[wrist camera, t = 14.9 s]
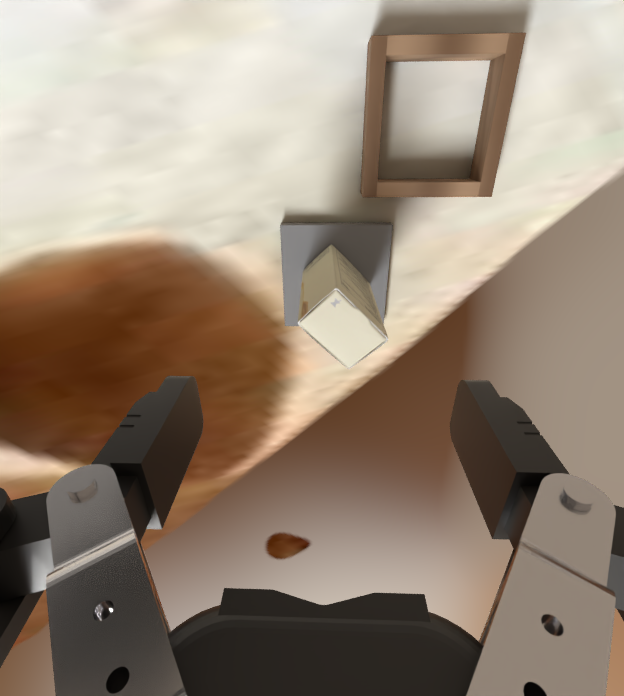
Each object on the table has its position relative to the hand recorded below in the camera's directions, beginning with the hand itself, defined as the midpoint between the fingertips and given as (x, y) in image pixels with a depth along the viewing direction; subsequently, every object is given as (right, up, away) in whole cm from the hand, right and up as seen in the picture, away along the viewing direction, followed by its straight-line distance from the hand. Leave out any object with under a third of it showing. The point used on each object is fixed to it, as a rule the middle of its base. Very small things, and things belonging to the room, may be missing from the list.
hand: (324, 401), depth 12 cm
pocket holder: (+10, +22, +22) cm, 32 cm away
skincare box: (+2, +9, +28) cm, 30 cm away
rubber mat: (+2, +9, +29) cm, 31 cm away
